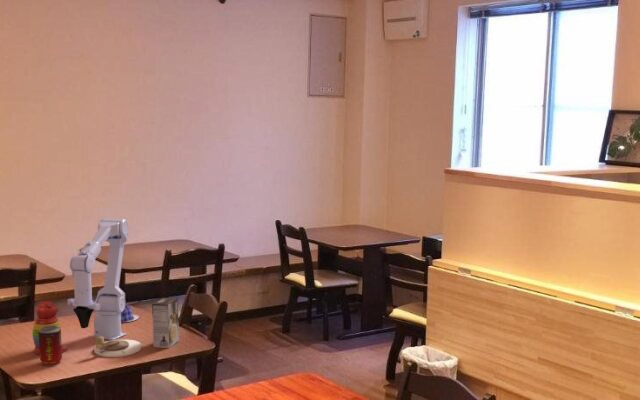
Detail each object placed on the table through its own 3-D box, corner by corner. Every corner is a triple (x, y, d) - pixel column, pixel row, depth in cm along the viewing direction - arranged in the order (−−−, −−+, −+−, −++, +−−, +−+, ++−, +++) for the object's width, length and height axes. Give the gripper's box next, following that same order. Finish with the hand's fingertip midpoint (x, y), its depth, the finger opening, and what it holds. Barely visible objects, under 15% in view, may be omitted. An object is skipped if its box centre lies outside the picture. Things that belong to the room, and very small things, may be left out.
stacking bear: (69, 351, 269) (67, 301, 267) (41, 357, 262) (39, 307, 260) (55, 344, 277) (53, 296, 275) (28, 350, 270) (25, 301, 268)
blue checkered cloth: (125, 314, 317) (124, 301, 317) (145, 318, 311) (144, 306, 310) (101, 321, 308) (101, 308, 307) (122, 325, 301) (121, 312, 300)
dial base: (84, 353, 266) (84, 350, 266) (113, 340, 281) (113, 337, 281) (122, 359, 260) (122, 355, 260) (150, 345, 275) (150, 342, 275)
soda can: (60, 358, 262) (58, 323, 260) (64, 364, 255) (62, 329, 254) (38, 361, 258) (36, 326, 257) (41, 368, 252) (39, 332, 250)
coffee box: (163, 339, 282) (162, 297, 280) (179, 340, 281) (178, 297, 279) (152, 347, 273) (151, 303, 271) (169, 348, 272) (168, 304, 270)
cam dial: (116, 340, 276) (115, 327, 275) (134, 345, 271) (133, 331, 270) (88, 350, 265) (87, 336, 264) (106, 355, 260) (105, 340, 260)
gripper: (59, 288, 265) (61, 327, 267) (88, 294, 258) (89, 333, 259) (75, 284, 271) (77, 322, 273) (104, 290, 264) (105, 328, 265)
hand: (84, 327), depth 267 cm, fingers closed
